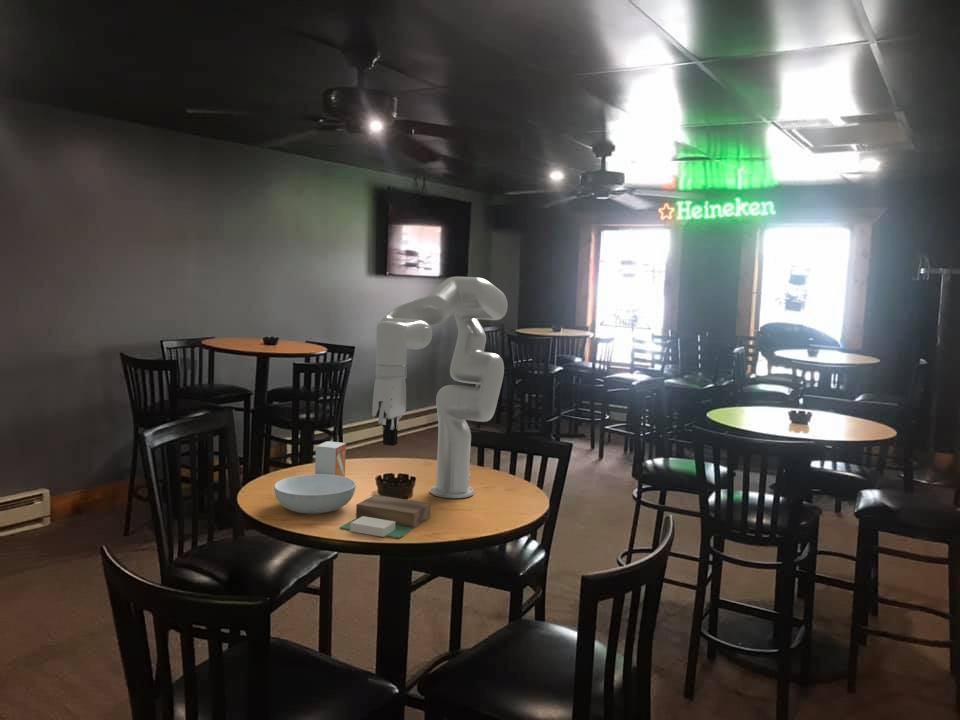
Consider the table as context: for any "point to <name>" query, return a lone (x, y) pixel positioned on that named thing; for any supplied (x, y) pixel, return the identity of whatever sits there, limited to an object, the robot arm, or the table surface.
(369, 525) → the light grey flat block
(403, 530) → the mat
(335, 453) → the small box
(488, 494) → the table surface
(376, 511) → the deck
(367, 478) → the table surface
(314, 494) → the serving bowl
